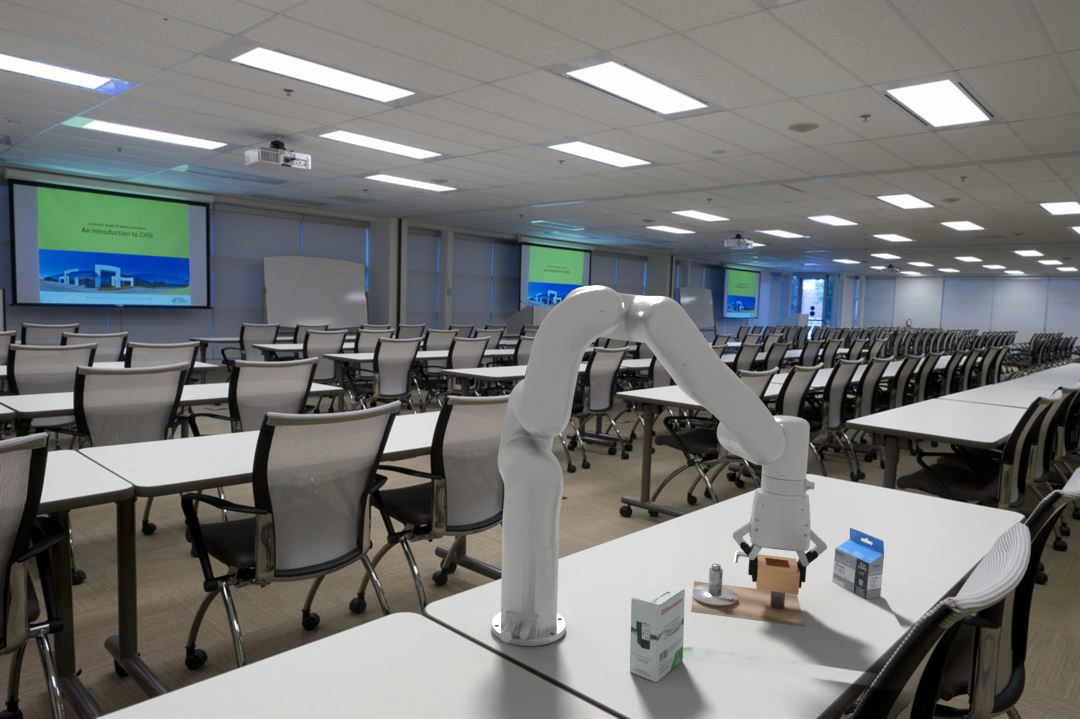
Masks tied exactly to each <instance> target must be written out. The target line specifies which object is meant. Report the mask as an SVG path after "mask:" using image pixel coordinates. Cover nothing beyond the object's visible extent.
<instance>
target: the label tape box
mask: <svg viewBox="0 0 1080 719" xmlns="http://www.w3.org/2000/svg"><path fill="white" fill-rule="evenodd" d="M862 539H863V540H865V539H867V540H868V541H869V542H870V543H872V544H870V543H869V542H866V541H863V540H862ZM884 562H885V544H884V540H882V539H880V538H878V537H875V536H872V535H870V534H868V533H865V532H863V531H860V530H858V529H855V528H852V527H849V539H848V540H846V541H845V542H843V543H842V544H840V545H838V546H837V547H835V548H834V559H833V570H832V583H834V584H836V585H837V586H839V587H841V588H843V589H845V590H847V591H849V592H851V593H852V594H854V595H857V596H859V597H861V598H863V599H865V600H869V599H870V600H871V599H876V598H881V597H882V596H881V595H882V594H881V593H882V582H883V572H884Z"/></svg>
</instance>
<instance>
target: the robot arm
mask: <svg viewBox="0 0 1080 719" xmlns="http://www.w3.org/2000/svg"><path fill="white" fill-rule="evenodd" d="M599 338H606V339H611V340H619V341H626V342H633V343H634V342H636V343H642V344H643V343H644V344H646V346H647V347H648V348H649V350H650V351H651V352H652V354H654V356H655V358H657V360H658V361H659V362H660V364H661V365H662V366H663V368H664V369H665V370H666V371H667V373H668V374H669V376H670V377H671V378H672V380H673V382H675V384H676V385H677V387H678V388H679V389H680V390H681V391H682V392H683V393H685V395H687V397H688V398H690V399H691V400H693V401H694V402H695V403H697V404H698V405H700V406H701V407H703V408H704V409H705V410H707V411H708V412H709V413H711V414H712V415H713V416H714V417H715V418H716V419H717V420H718V421H719V424H718V426H717V429H716V437H717V440H718V442H719V443H720V445H721V446H722V447H723V448H724V449H725V450H726V451H728V452H729V453H730V454H733V455H735V456H737V457H740V458H742V459H744V460H746V461H748V462H750V463H751V464H754V465H758V466H762V467H761V477H760V478H761V479H760V480H761V481H760V487H757V488H756V489H755V492H754V495H753V500H752V506H751V513H750V520H749V521H748V523H746V524H744V525H742V526H741V527H740V528H738V529H736V530H735V531H733V533H732V538H733V539H734V541H735V542H736V544H737V545H738V546H739V547H740V549H741V551H744V552H745V554H746V555H747V556H746V557H748V569H747V570H748V572H747V573H748V576H751V581H752V583H756V577H757V563H758V558H757V555H758V553H759V554H760V552H761V551H762V549H763V548H765V549H773V550H780V551H789V552H795V553H796V555H797V556H798V559H797V565H798V568H799V571H800V580H799V589H801V588H802V583H806V580H807V579H806V576H807V567H809V565H810V564H812V563H813V561H815V560H816V559H818V557H819V556H820V555H822V553H824V552H825V551H826V550H827V549H828V546H827V544H826V542H825V541H824V540H823V539H822V538H821V537H819V535H818V534H817V533H815V531H814V530H812V528H811V504H810V497H809V496H810V495H809V494H808V493H807V492H808V491H810V490H815V485H816V484H815V482H814V481H810V480H808V479H807V473H808V472H807V471H808V462H809V461H808V458H809V447H810V446H809V445H810V434H811V433H810V430H811V429H810V428H811V426H810V423H809V422H808V420H806V419H804V418H802V417H799V416H793V415H781V414H780V415H772V412H771V411H770V410H769V409H768V408H767V406H766V405H765V403H764V402H763V400H761V398H760V397H759V396H758V395H757V394H756V393H755V392H754V390H752V389H751V388H750V387H749V386H748V385H747V384H746V383H745V382H744V381H743V380H742V379H741V378H740V377H739V376H738V375H737V374H736V373H735V372H734V371H733V369H731V368H730V367H729V366H728V365H727V364H726V363H725V362H724V361H723V360H722V359H721V358H720V356H719V355H718V354H717V353H716V351H715V349H714V348H713V347H712V345H711V344H710V343H709V342H708V340H707V339H706V338H705V336H704V335H703V333H702V332H701V331H700V329H699V328H698V327H697V325H696V324H695V322H694V321H693V320H692V318H691V317H690V316H689V315H688V313H687V312H686V310H685V309H684V308H683V306H681V304H680V303H679V302H677V301H676V300H675V299H673V298H672V297H669V296H664V295H637V294H630V293H621V292H618V291H617V290H614V289H613V288H612V287H609V286H605V285H587V286H581V287H577V288H575V289H572V290H571V291H570V292H569V293H568V294H567V295H566V296H565V297H564V299H563V300H561V301H560V302H559V303H558V304H556V305H555V306H554V307H553V308H552V309H551V310H550V311H549V312H548V314H547V315H546V316H545V317H544V318H543V320H542V321H541V323H540V325H539V327H538V328H537V330H536V332H535V336H534V339H533V342H532V345H531V349H530V353H529V358H528V362H527V365H526V370H525V376H524V378H523V379H522V380H520V381H519V382H518V383H517V384H516V385H515V386H514V388H512V390H511V392H510V394H509V397H508V401H507V404H506V410H505V414H504V420H503V426H502V429H501V434H500V435H501V437H500V442H499V447H498V452H497V468H498V471H499V474H500V476H501V478H502V480H503V485H504V492H503V493H504V497H503V509H502V525H501V526H502V528H501V529H502V530H501V533H502V534H501V536H502V537H501V542H502V543H501V545H502V546H501V583H500V585H501V589H500V591H501V594H500V595H501V596H500V612H498V613H497V614H496V615H495V616H493V618H492V620H491V626H490V628H491V629H490V630H491V632H492V634H493V635H494V636H495V637H497V638H498V639H499V640H500V641H503V643H508V644H510V645H516V646H521V647H523V646H524V647H538V646H546V645H548V644H552V643H554V642H556V641H559V639H561V638H562V637H563V636H564V634H566V633H565V632H566V631H567V630H566V627H567V626H566V625H567V624H566V623H567V622H566V620H565V619H564V617H562V615H560V614H559V613H558V589H559V588H558V587H559V558H560V557H559V550H560V547H559V546H560V539H559V538H560V519H561V507H562V506H561V505H562V499H563V494H564V493H563V492H564V474H563V470H562V467H561V466H562V465H561V464H560V461H559V459H558V458H557V457H556V455H555V454H554V452H553V451H552V449H553V448H552V447H553V443H554V438H555V437H558V436H559V435H560V434H562V433H563V432H564V431H565V429H566V428H567V426H568V424H569V421H570V419H571V414H572V410H573V409H572V408H573V404H574V403H573V401H574V396H575V391H576V386H577V382H578V375H579V372H580V367H581V365H582V360H583V357H584V356H585V353H586V352H587V350H588V348H589V347H590V345H592V343H593V342H595V341H596V340H598V339H599ZM748 534H749V538H750V543H751V545H749V543H748V542H747V541H746V540H745V539H744V538H743V537H744V536H746V535H748ZM811 542H812V543H813V544H815V546H813V548H811V549H810V544H811ZM808 550H809V551H808ZM806 551H807V552H806Z"/></svg>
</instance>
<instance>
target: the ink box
mask: <svg viewBox="0 0 1080 719" xmlns="http://www.w3.org/2000/svg"><path fill="white" fill-rule="evenodd" d="M685 591H686V590H685V588H683V587H681V586H677V585H673V584H669V583H666V582H665V583H664V582H661V581H657V582H656V583H654V584H653V585H651V586H650V587H648V588H646V589H645V590H643V591H641V592H640V593H638V594H636V595H634V596H633V597H632V598H631V601H630V602H631V604H630V605H631V606H630V607H631V612H630V613H631V614H630V646H629V647H630V650H629V672H630V673H633V674H635V675H637V676H639V677H642V678H643V679H647V680H649V681H651V682H654V683H658V682H659V681H660V680H661V679H662V678H664V677H665V676H666V675H667V674H668V673H669V672H671V671H672V670H673V669H674V668H676V667H677V666H678V665H679V664H681V662H682V661H683V660H684V659H683V658H684V629H685V627H684V626H685V625H684V623H685V595H686V594H685V593H686V592H685Z"/></svg>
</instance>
